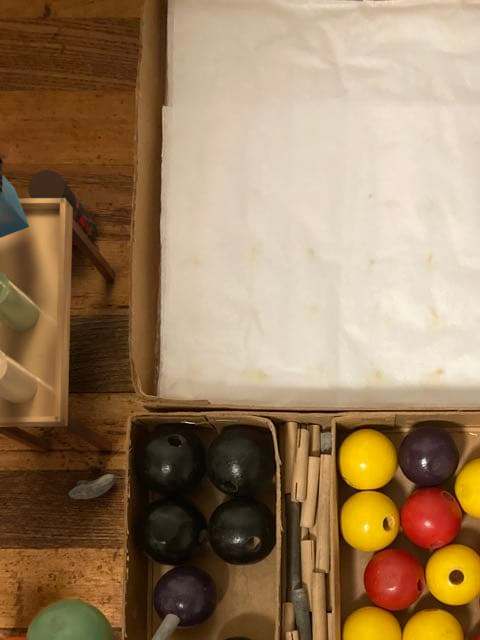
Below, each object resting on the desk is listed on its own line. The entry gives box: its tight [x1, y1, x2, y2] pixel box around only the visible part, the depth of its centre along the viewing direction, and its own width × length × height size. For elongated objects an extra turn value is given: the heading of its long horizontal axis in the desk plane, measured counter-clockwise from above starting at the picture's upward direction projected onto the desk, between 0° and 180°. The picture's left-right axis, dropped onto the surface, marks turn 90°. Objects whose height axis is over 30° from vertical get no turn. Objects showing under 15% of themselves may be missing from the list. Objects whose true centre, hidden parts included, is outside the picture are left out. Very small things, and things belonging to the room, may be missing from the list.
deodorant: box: [27, 169, 98, 247], centre depth 143 cm, size 6×6×15 cm
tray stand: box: [0, 197, 116, 453], centre depth 136 cm, size 14×34×25 cm, turn 1°
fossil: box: [68, 473, 117, 500], centre depth 144 cm, size 8×4×5 cm, turn 112°
